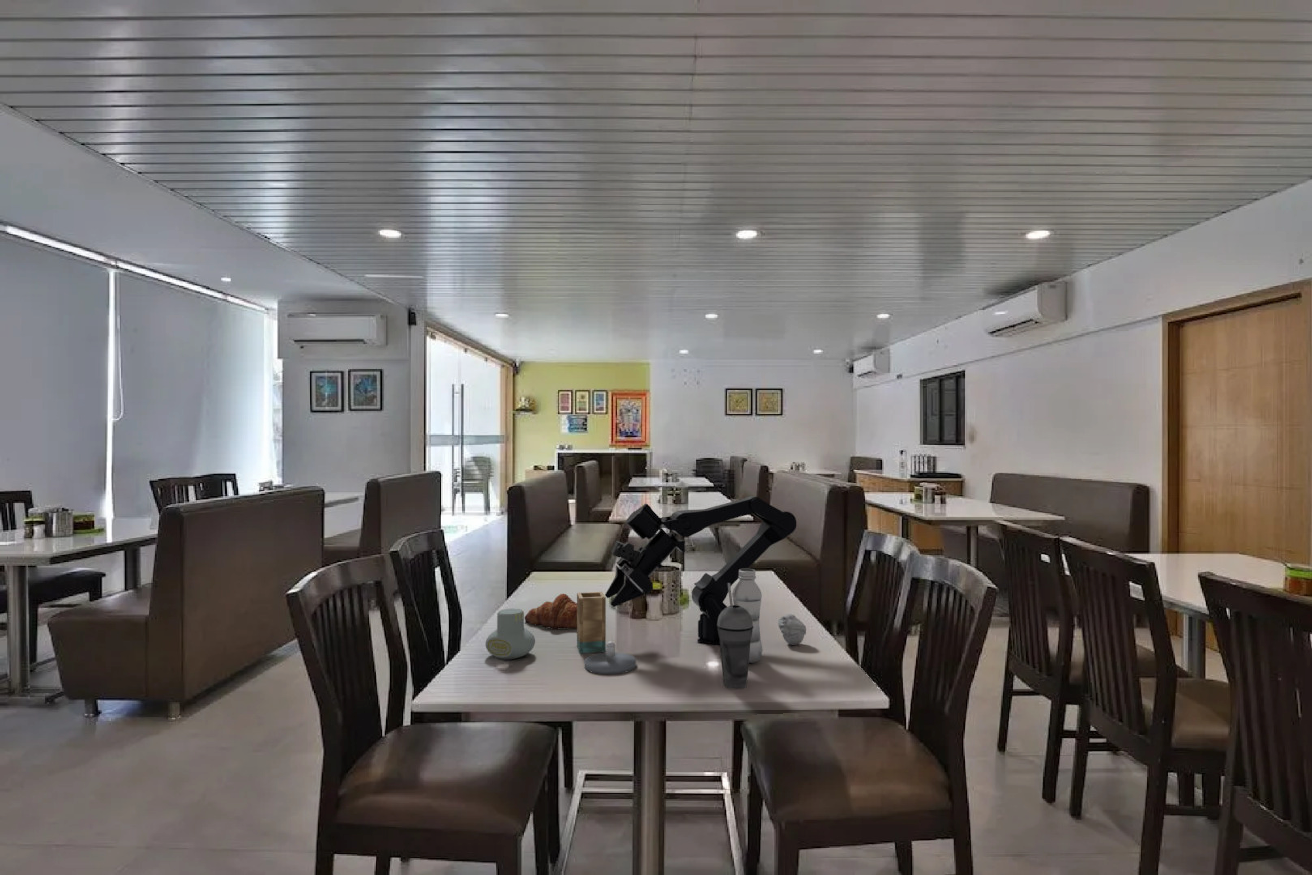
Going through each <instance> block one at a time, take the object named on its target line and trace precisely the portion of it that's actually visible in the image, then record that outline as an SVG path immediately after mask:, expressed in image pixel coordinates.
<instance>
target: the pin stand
mask: <svg viewBox="0 0 1312 875" xmlns="http://www.w3.org/2000/svg"><path fill="white" fill-rule="evenodd" d="M636 667H637V658H636V657H635V656H633V655H632V654H628V653H623V652H616V645H615V642H614V641H611V640H610V641H606V652H598V653H595V654H592V655H589V656H587V657H586V658H585V659H584V669H585V668H586V669H587V671H588V672H590V671H592V672H591V673H593V672H595V673H594V674H597V673H600V674H599V675H620V674H624V673H623V672H625V673H627V672H626V671H628V672H631V671H633V670H634V669H635V668H636ZM586 669H585V670H586ZM619 673H620V674H619Z"/></svg>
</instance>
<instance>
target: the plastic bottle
mask: <svg viewBox="0 0 1312 875" xmlns="http://www.w3.org/2000/svg"><path fill="white" fill-rule="evenodd" d="M756 579H757V577H756V569H754V568H748V569H739V576H738V580H739V581H738V582H737V583H736V585H735V586H734V588H733V590H732V592H731V595H732V603H733V605H738V606H741V607H743V608H744V609H746V610H747V611H748V613H749V614H750V616H751V619H752V623H753V631H752V637H751V641H750V654H749V664H750V663H751V664H752V663H753V664H754V663H758V662H760V660H761V659H762V656H763V642H762V640H761V631H760V617H761V616H760V615H761V614H760V612H761V604H762V595H763V594H762V591H761V589H760V587H759V585H758V584H757V582H756Z"/></svg>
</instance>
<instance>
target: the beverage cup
mask: <svg viewBox="0 0 1312 875" xmlns="http://www.w3.org/2000/svg"><path fill="white" fill-rule="evenodd" d="M731 587H732V586H731ZM731 587H730V583H728V598H729V605H728V606H727V607H726V608H725V609H724V610H723V611H722V612H721V613H720V615H719V617H718V622H717V628H718V635H719V638H720V645H719V648H720V661H721V672H722V674H721V675H722V678H723V679H722V680H723V686H724V687H725V688H727V689H728V688H729V689H734V690H737V689H738V690H739V689H744V688H746V687H747V683H748V677H749V666H750V665H749V664H750V663H749V654H750V641H751V637H752V631H753V623H752V619H751V616H750V614H749V613H748V611H747V610H746V609H744V608H743V607H741V606H738V605H734V603H733V595H732V588H731Z"/></svg>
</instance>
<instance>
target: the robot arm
mask: <svg viewBox="0 0 1312 875" xmlns="http://www.w3.org/2000/svg"><path fill="white" fill-rule="evenodd" d="M752 514H753V515H754V516H755V517H757V519H759V520H760V521H761V523H760V525H759V527H758V529H757V532H756V533H755V535H754V536H752V537H751V539H749V540H748V541H747V542H746V543H745V544H744V546H742V548H741V549H740V550H739V551H738V552H736V554H734V556H732V558H731V559H730V560H729V561H727V563H726V564H725V565H723V566H722V568H720V569H719V570H718V571H717V572H716V573H715V574H712V575H710V574H709V573H708V572H705V573H704V574H703V575H702V577H701V578H700V579H699V580H698V581H697V582H695V583H693V585H694V587H693V588H692V590H691V600H692V601H693V603H694V605H696V606H697V607H698V608H699V612H701V614H700V615H699V619H698V621H697V637H698V639H697V640H696V641H697V643H703V644H709V645H710V644H711V645H719V646H720V638H719V635H718V628H717V622H718V617H719V615H720V613H721V612H722V611H723V610H724V609H725V608H726V607H728V606H727V605H726V604H725V603H724V602H725V600H726V598H727V596H728V595H729V592H728V583H730V587H732V586H733V584H734V583H735V582H737V581H738V580H739V578H738V576H739V569H750V567H751V566H753V564H754V563H755V562H756V561H757V560H758V559H759V558H760V557H761V556H762V555H763V554H764V553H765V552H766V551H767V550H768V549H769V548H770V547H772V546H773V545H775V544H778V542H781V541H783V540H784V539H786V538H787V537H789V536H790V535H791V534H793V533H794V531H795V530H796V529H797V518H796V517H795V515H794V513H791V512H790V511H786V510H782V509H778V508H777V507H775V506H774V505H771V504H770V503H767V502H765V501H764V500H763V499H762V498H760V497H759V496H754V495H749V496H747V497H744V498H742V499H741V498H740V499H738V500H734V501H731V502H726V503H723V504H719V505H715V506H710V507H707V508H703V509H700V508H699V509H685V510H677V511H674V512H673V513H672V514H671V515H669V516H662V517H659V515H658V514H656V512H655V511H654V510H653V509H652V507H651V506H650V505H649V504H648V503H644V504H643V505H642V506H640V507H639V508H637V509H636V510H635V511H633V512H632V513H631V514H630V515H629V516H628V518H627V519H626V520H625V524H626V525H627V526H628V527H630V529H631V530H632V531H633V532H634V533H635V534H636V535H637V536H638V537H639V538H640V539H641V540H644V539H647V540H649V541H648V542H647V543H646V544H645V545H644V546H643V545H642V546H639V547H638V548H635V545H634V544H631V543H629V542H628V541H627V542H625V543H623V542H620V541H619V540H616V541H615V542H614V545H613V547H612V549H611V552H610V553H611V554H612V555H613V556H615V557H617V558H619V559H618V561H617V562H616V565H615V572H616V573H615V577H614V578H613V580H612V582H611V583H610V585H609V587H608V589H607V591H606V592H605V594H604V595H605V597H606V599H609V598H611V597H613V599H612V601H610V605H611V606H612V607H613V608H614V607H617V606H620V605H622V604H624V603H627V602H630V601H631V600H635V599H637V598H639V597H642V596H645V594H646V595H647V596H648V595H649V594H650V592H651V591H652V590H654V583H653V581H652V580H651V577H650V576H651V575H652V574H653V573H654V572H655V571H656V570H657V569H661V568H662V567H663V565H662V564H663V563H664V561H665V560H666V559H667V558H668V557H669V556H670V555H671V554H672V553H673V552H674V551H675V550H676V549H677V550H678V551H679V552H681V553H685V552H686V549H685V548H686V547H685V544H686V541H685V540H684V539H678V537H676V535H675V534H677V535H678V536H680V537H683V538H687V537H691V536H694V535H696V534H697V533H700V532H701V531H704V529H707V528H708V527H710V526H712V525H716V524H719V523H723V522H726V521H729V520H734V519H737V518H741V517H744V516H748V515H752ZM661 526H662V527H663V528H665V529H667V530H670V531H672V532H668V533H667V532H666V531H665V530H664V529H663V528H662V527H661ZM674 533H675V534H674Z"/></svg>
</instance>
